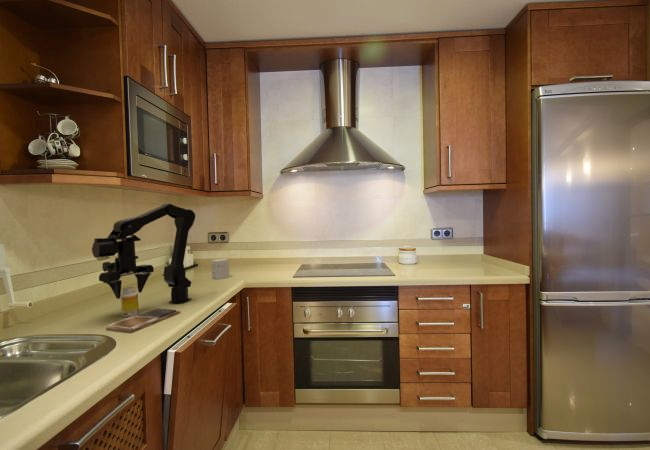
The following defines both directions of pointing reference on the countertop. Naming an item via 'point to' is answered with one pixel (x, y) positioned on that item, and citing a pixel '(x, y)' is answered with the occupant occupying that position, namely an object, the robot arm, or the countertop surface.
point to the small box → (220, 269)
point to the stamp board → (141, 320)
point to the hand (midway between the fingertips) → (129, 295)
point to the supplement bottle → (129, 302)
